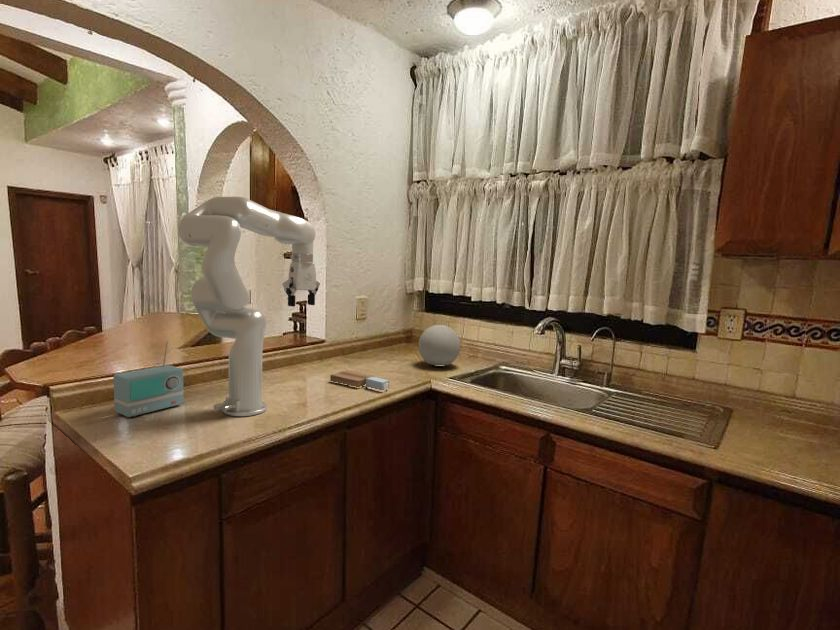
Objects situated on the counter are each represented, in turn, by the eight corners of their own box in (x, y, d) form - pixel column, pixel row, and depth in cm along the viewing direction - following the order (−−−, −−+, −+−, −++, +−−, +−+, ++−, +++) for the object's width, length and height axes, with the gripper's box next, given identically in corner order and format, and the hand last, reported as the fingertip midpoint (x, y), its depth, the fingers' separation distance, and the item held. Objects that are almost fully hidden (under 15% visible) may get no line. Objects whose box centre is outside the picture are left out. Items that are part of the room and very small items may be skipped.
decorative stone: (410, 363, 207) (412, 322, 205) (445, 360, 217) (447, 321, 215) (430, 372, 190) (432, 328, 188) (467, 369, 199) (469, 327, 197)
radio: (129, 421, 118) (127, 350, 116) (114, 414, 123) (112, 346, 121) (186, 406, 132) (185, 343, 130) (169, 401, 137) (168, 339, 134)
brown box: (358, 388, 160) (358, 381, 159) (330, 382, 167) (330, 374, 166) (374, 383, 168) (374, 376, 168) (347, 377, 175) (347, 370, 175)
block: (365, 388, 161) (382, 393, 156) (366, 378, 161) (382, 382, 156) (372, 386, 164) (389, 391, 160) (373, 376, 164) (389, 380, 159)
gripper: (291, 258, 147) (290, 307, 149) (326, 260, 161) (325, 305, 163) (276, 257, 150) (276, 305, 152) (312, 259, 165) (311, 303, 167)
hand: (301, 305), depth 158 cm, fingers open, 9 cm apart
